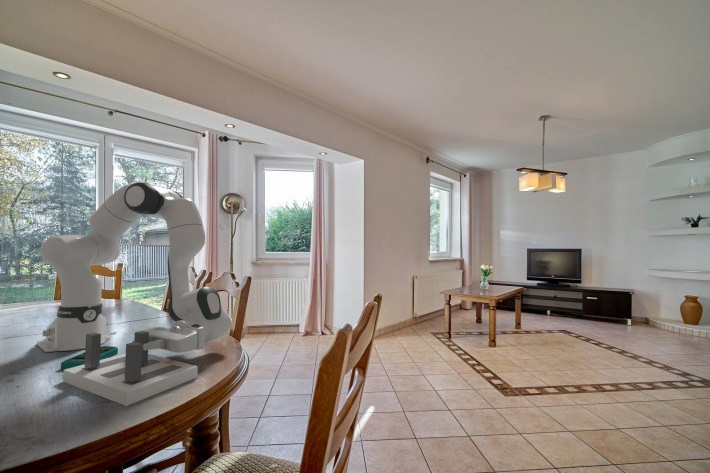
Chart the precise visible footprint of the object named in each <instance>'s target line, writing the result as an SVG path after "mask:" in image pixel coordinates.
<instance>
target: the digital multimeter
mask: <svg viewBox="0 0 710 473" xmlns="http://www.w3.org/2000/svg"><path fill="white" fill-rule="evenodd" d="M118 351H119V348H118V347H116V346H107V345H105V346H104V345H103V346H102V345H100V360H103V359H106V358H110V357H114V356H117V354H118V355H119V352H118ZM113 355H114V356H113ZM84 364H85V351H84V352H82V353H80V354H76V355H75V356H72V357H70V358H68V359H67V358H66V359H65V360H63V361H62V362H61V363H60V370H61V371H62V370H63V371H64V370H65V369H69V368H73V367H76V366H80V365H84Z"/></svg>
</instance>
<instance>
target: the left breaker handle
mask: <svg viewBox="0 0 710 473" xmlns="http://www.w3.org/2000/svg"><path fill="white" fill-rule="evenodd" d="M101 345H102V344H101V334H99V333H89V334H86V346H85V348H84V349H85V350H84V352H85V367H86V368H89V369H92V368H96V367H99V366H100V347H101Z"/></svg>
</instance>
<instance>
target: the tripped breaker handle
mask: <svg viewBox="0 0 710 473" xmlns="http://www.w3.org/2000/svg"><path fill="white" fill-rule="evenodd" d="M133 341H134V342H138V343H146V342H148V341H149V332H146V331H139V332H136V331H135V332H134V339H133ZM148 354H149V350H146V351H145V350H142V361H141V366H142V365H145V364H148Z"/></svg>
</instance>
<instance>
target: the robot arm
mask: <svg viewBox="0 0 710 473" xmlns="http://www.w3.org/2000/svg"><path fill="white" fill-rule="evenodd" d="M142 215H144V216H147V217H151V218H158V219H160V218H161V219H164V221H165V223H166V229H167V234H168V239H169V243H168V245H169V248H168V250H169V251H168V255H167V274H168V285H169V286H168V287H169V300H168V306H167V312H168V314H169V317H170V319H172V321H174V322H173V323H172V326H170V327H169V328H168V327H163V326H155V327H149V328H143V329H138V330H136V331H135V332H139V331H146V332H149V341H148V342H146V343H142V350H145V351H146V350H148V351H149V350H159V349H161V350H165V351H168V352H172V353H176V354H177V353H179V354H180V353H185V352H190V351H194V350H197V351H198V350H203V348H204V344H206V343H210V342H213V341H215V340H218V339H220V338H223V337H224V336H225V335H226V334H228V332H229V331H230V329H231V326H232V320H231V316H230V315H229V314H228V313H227V312H226V311H225V310H224V308H223V306H222V304H221V298H220V297H221V296H220V294H219V293H218V291H217V290H216V289H214V288H213V287H211V286H203V287H199V288H197V289H196V288H195V289H194V290H190V279H189V266H190V264H191V262H192V261H193V260H194V258H195V257H196V256H197V254H199V253H200V252H201V251H202V249H203V248H204V246H205V244H206V233H205V228H204V224H203V220H202V217H201V214H200V211H199V209H198V206H197V204H196V203H195V201H193V200H192V199H190V198H188V197H187V198H186V197H184V196H183V195H182V194H181V193H179V192H176V191H174V190H171V189H169V188H167V187H165V186H159V185H156V184H155V185H154V184H151V183H148V182H141V181H140V182H135V183H131V184H126V185H123V186H121V187H120V188H118V189H117V190H115V191H114V192H113V193H112V194H110V196H109V197H108V198H107V199H106V200H105V201H104V202H103V203H102V204H101V205H100V206H99V207H98V208H97V209H96V210H95V211H94V213H93V214H92V215H91V216H90V218H89V224H90V226H91V230H90V232H88V233H86V234H85V235H82V234H81V235H78V234H62V235H57V236H51V237H49V238H46V240H44V241H43V243H42V244H41V247H40V256H41V258H42V260H43V261H44V262H45V263H46V265H47V264H48V265H49V266H50V267H52V269H53V270H54V271H55V273H56V274H57V277H58V279H59V283H60V305H59V306H58V310H57V314H56V318H55V320H53V321H52V322H51V323H50V324H49V325H48V326H46V329H44V330H42V337H43V338H44V337H45V338H44V339H41V340H38V341H36V345H37V346H38V347H39V348H40V349H41V350H42V351H43V352H44V353H52V352H61V351H62V352H64V351H67V352H68V351H75V350H76V351H77V350H82V349H85V346H86V334H89V333H99V334H101V344H100V345H102V344H104V343H105V342H106V341H108V340H110V335H108V334H107V325H106V324H107V321H106V317H105V316H103V315H102V314H103V309H104V308H103V307H104V306H103V303H102V291H103V290H102V289H103V288H102V287H103V284H102V281H101V280H100V279H99V278H97V277H95V275H94V273H93V272H92V271H93V270H92V269H91V268H92V267H91V266H102V265H106V264H109V263H113V262H114V261H116V260H117V259H119V257H120V255H121V246H120V244H119V243H120V241H121V239H122V237H123V235H125V233H126V232H127V231H128V230H129V228H131V226H132V225H133V224H134V223H135V222H136V221H137V220H138V219H139V218H140V216H142ZM132 342H134V340H132V341H131V343H132Z"/></svg>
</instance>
